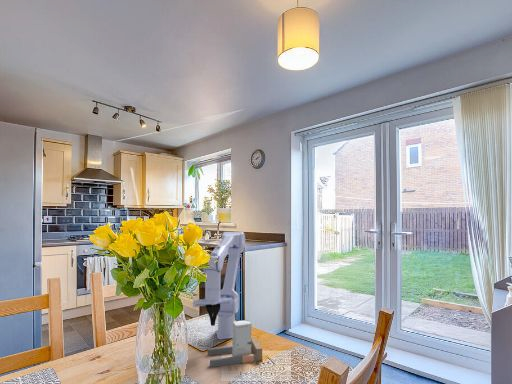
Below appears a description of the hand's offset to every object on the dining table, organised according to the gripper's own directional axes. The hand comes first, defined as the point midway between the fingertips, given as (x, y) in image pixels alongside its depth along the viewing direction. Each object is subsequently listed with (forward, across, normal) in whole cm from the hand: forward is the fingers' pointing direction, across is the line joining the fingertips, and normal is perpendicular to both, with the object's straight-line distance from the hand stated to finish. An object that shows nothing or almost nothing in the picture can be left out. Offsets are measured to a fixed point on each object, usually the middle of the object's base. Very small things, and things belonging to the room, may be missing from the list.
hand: (212, 324), depth 113 cm
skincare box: (+10, +10, -8) cm, 16 cm away
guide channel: (+9, +7, -7) cm, 14 cm away
